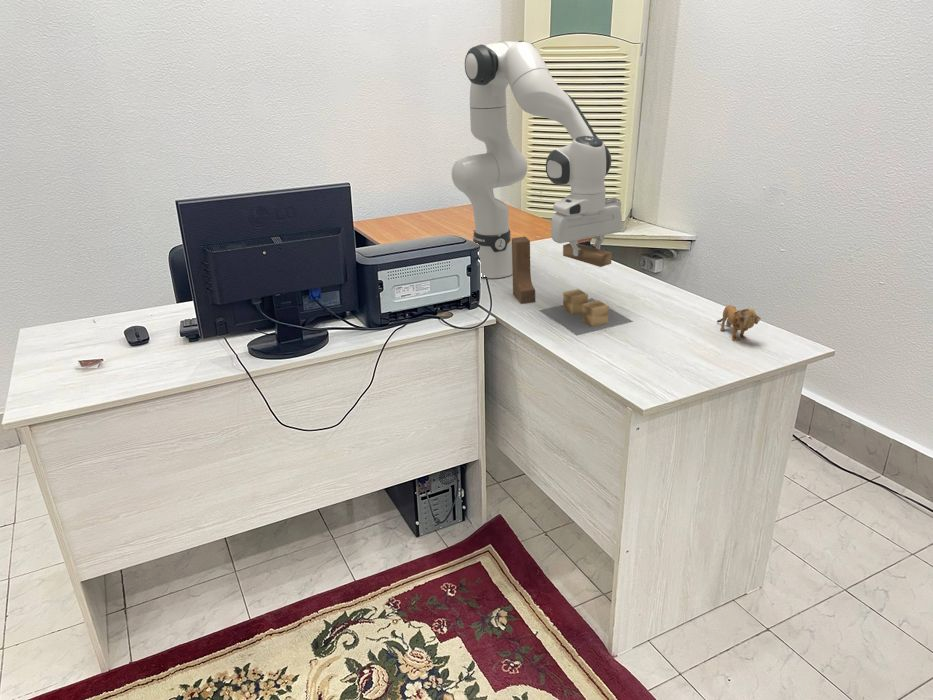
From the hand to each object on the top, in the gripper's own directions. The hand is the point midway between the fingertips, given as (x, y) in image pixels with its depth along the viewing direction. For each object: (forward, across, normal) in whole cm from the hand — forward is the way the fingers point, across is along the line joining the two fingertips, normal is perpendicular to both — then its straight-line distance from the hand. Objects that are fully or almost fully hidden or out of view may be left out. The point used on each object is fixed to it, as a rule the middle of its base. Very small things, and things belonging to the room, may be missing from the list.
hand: (586, 253), depth 182 cm
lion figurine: (+19, -27, +29) cm, 44 cm away
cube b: (+18, 0, +5) cm, 19 cm away
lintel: (+2, 0, 0) cm, 2 cm away
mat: (+18, 0, 0) cm, 19 cm away
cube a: (+18, 0, -5) cm, 19 cm away
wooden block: (+19, +8, -21) cm, 29 cm away
